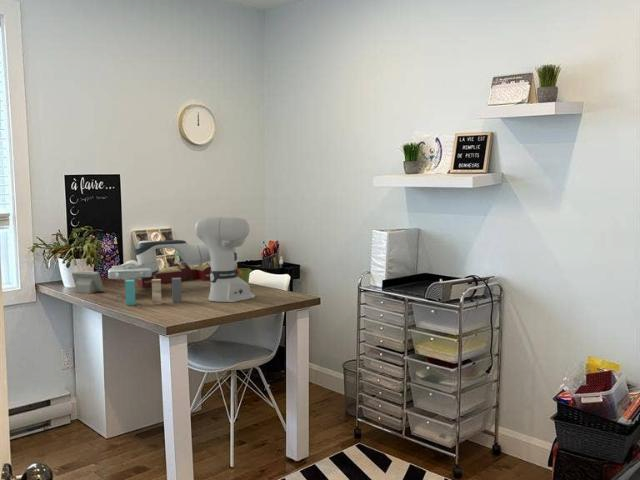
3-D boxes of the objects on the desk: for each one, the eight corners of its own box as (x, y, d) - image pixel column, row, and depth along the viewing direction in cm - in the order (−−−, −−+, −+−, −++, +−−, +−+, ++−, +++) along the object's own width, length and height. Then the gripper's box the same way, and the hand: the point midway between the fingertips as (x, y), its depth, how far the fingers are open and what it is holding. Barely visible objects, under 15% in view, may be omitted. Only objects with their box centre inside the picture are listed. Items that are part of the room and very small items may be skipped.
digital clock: (105, 291, 314) (105, 270, 313) (91, 294, 306) (90, 273, 305) (83, 288, 321) (82, 268, 320) (69, 291, 313) (68, 271, 312)
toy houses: (202, 275, 364) (202, 258, 363) (219, 280, 348) (219, 262, 347) (127, 284, 336) (127, 265, 335) (142, 289, 320) (142, 270, 319)
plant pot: (253, 286, 326) (253, 270, 325) (236, 288, 322) (235, 271, 321) (248, 283, 335) (248, 268, 334) (231, 285, 331) (231, 269, 330)
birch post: (152, 302, 285) (151, 279, 284) (161, 302, 286) (160, 279, 285) (152, 304, 282) (151, 280, 280) (161, 304, 283) (160, 280, 281)
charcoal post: (172, 301, 289) (171, 278, 288) (181, 300, 290) (180, 277, 289) (172, 302, 285) (172, 279, 284) (181, 302, 286) (181, 278, 285)
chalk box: (189, 270, 381) (189, 246, 380) (194, 272, 373) (194, 248, 372) (175, 271, 377) (174, 247, 375) (179, 273, 369) (178, 249, 367)
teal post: (126, 303, 284) (125, 280, 283) (135, 303, 285) (134, 279, 284) (126, 305, 280) (125, 281, 279) (135, 304, 281) (134, 281, 280)
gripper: (152, 277, 310) (152, 281, 296) (109, 278, 304) (107, 283, 291) (152, 264, 309) (152, 268, 296) (109, 265, 304) (106, 269, 290)
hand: (129, 275), depth 293 cm, fingers open, 8 cm apart
